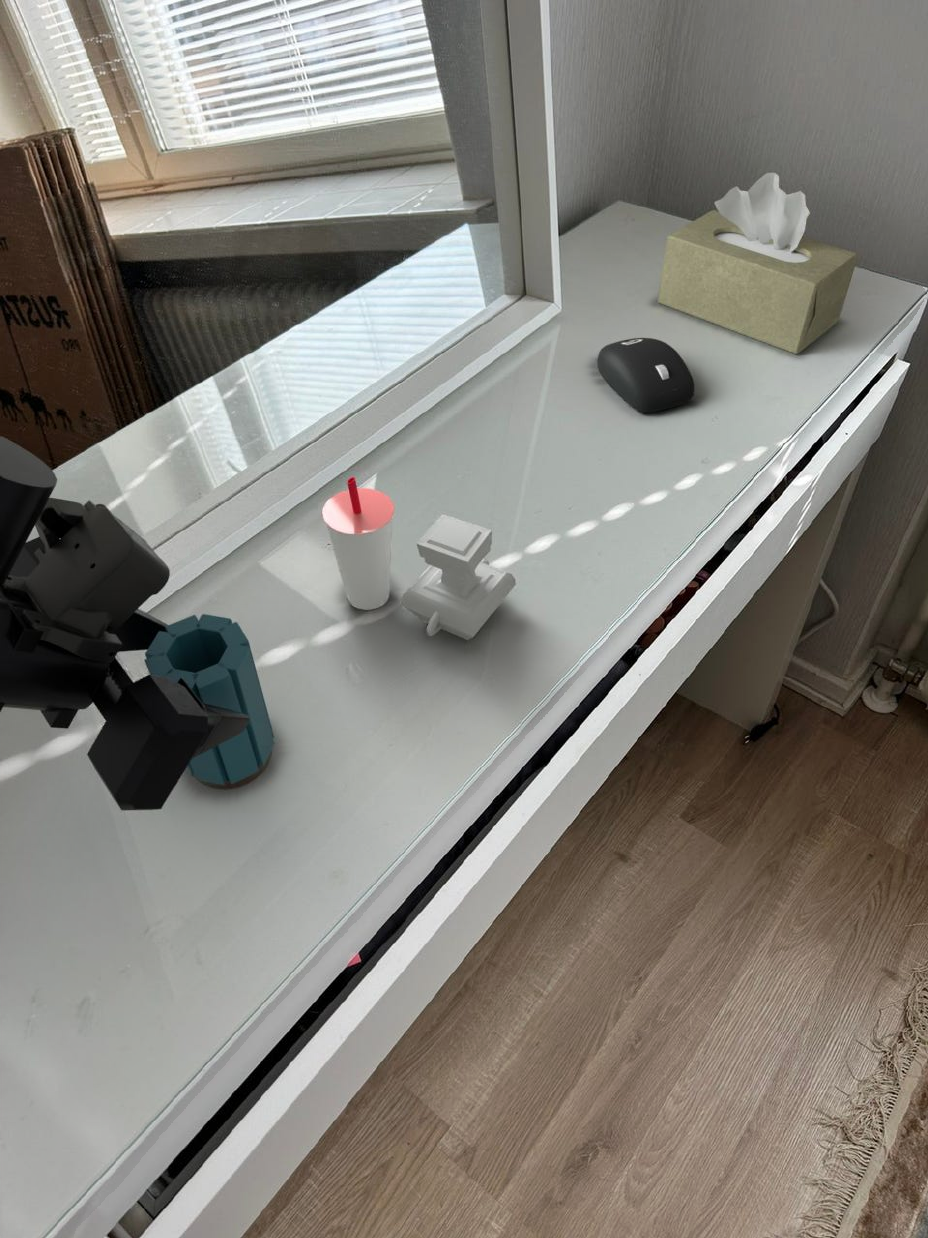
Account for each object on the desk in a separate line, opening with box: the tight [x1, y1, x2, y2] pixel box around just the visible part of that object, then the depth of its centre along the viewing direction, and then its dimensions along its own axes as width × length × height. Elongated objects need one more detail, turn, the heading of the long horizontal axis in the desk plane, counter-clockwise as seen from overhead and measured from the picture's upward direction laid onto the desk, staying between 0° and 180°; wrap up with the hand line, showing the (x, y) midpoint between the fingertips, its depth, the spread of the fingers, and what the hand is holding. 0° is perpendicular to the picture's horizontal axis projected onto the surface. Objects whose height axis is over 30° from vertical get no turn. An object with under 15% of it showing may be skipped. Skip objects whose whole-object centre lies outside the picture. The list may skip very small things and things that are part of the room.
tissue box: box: [657, 172, 859, 355], centre depth 101 cm, size 19×10×16 cm, turn 48°
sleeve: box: [144, 613, 275, 785], centre depth 60 cm, size 6×6×10 cm
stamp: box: [399, 513, 517, 641], centre depth 70 cm, size 9×7×8 cm
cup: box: [321, 476, 395, 611], centre depth 70 cm, size 5×5×12 cm
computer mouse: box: [596, 337, 695, 413], centre depth 95 cm, size 8×12×4 cm, turn 24°
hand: (209, 679), depth 58 cm, fingers open, 9 cm apart
